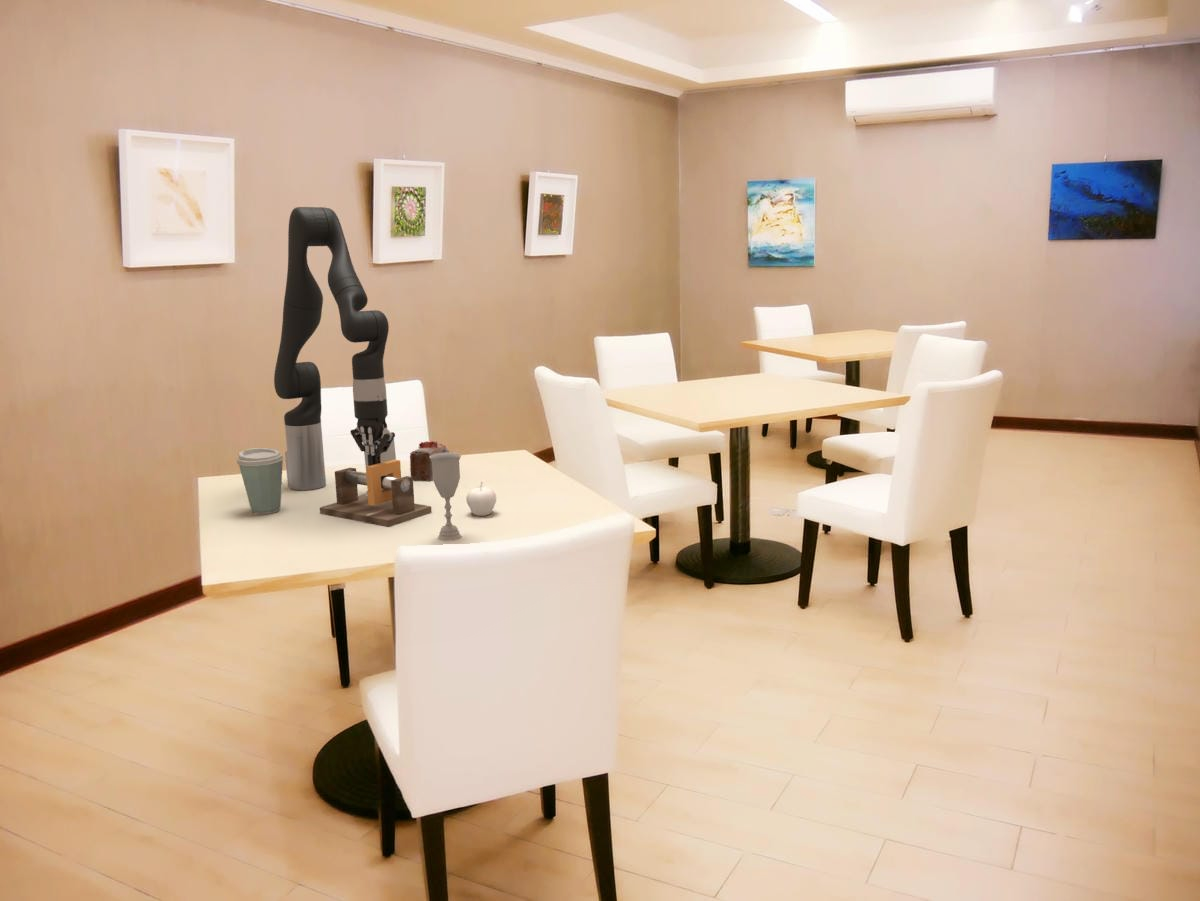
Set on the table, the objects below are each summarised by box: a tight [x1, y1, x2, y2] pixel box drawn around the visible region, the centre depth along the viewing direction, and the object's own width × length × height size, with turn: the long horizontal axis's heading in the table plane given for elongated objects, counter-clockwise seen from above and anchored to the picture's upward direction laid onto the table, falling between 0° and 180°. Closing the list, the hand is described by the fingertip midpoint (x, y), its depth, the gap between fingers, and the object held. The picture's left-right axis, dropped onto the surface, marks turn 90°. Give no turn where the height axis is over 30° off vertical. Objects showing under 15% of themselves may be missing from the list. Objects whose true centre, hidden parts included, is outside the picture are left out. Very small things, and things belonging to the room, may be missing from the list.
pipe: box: [344, 470, 410, 492], centre depth 229 cm, size 21×3×3 cm, turn 57°
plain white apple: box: [465, 481, 497, 517], centre depth 227 cm, size 7×7×8 cm
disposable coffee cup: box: [236, 447, 284, 516], centre depth 232 cm, size 11×11×15 cm
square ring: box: [365, 459, 402, 506], centre depth 227 cm, size 2×9×9 cm, turn 147°
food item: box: [409, 441, 450, 482], centre depth 268 cm, size 14×8×10 cm, turn 170°
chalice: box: [429, 452, 462, 541], centre depth 208 cm, size 7×7×18 cm
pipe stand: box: [319, 467, 432, 528], centre depth 230 cm, size 23×14×10 cm, turn 57°
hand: (375, 469), depth 228 cm, fingers closed
